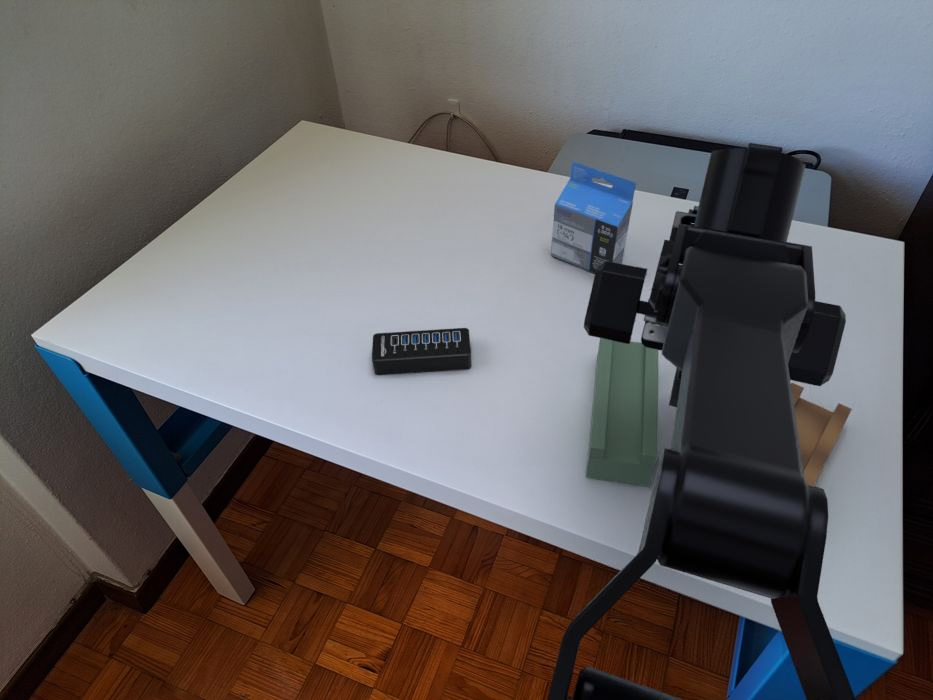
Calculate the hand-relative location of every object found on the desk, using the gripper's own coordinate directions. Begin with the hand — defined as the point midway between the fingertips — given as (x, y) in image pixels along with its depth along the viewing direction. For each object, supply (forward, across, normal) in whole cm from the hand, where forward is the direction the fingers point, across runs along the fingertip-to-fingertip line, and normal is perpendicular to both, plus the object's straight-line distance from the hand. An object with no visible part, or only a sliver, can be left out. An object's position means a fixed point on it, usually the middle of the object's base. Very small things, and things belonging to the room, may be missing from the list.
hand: (700, 326), depth 62 cm
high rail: (+8, +5, +11) cm, 14 cm away
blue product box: (+25, +14, -6) cm, 30 cm away
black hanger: (+3, 0, +5) cm, 6 cm away
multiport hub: (+9, +28, +10) cm, 31 cm away
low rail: (+8, -11, +11) cm, 17 cm away
